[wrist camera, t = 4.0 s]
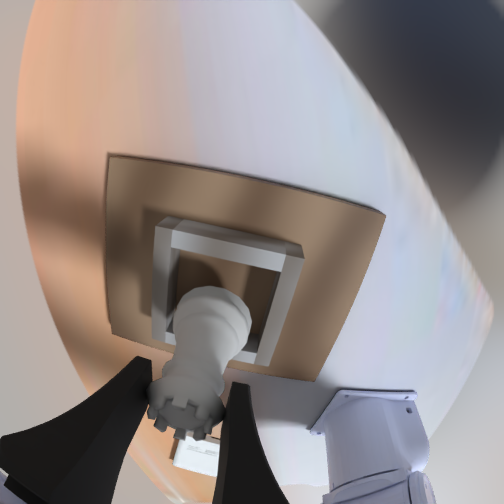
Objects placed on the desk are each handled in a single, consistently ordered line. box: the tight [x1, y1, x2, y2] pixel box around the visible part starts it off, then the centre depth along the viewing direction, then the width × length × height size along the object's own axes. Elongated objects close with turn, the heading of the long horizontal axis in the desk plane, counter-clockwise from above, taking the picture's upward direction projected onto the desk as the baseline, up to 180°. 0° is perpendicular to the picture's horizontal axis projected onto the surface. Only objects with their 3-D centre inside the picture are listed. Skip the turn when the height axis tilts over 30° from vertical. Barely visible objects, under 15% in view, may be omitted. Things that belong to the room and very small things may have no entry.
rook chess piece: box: [146, 286, 252, 441], centre depth 12 cm, size 4×4×8 cm
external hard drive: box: [172, 433, 220, 477], centre depth 29 cm, size 2×8×12 cm
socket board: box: [106, 156, 386, 382], centre depth 17 cm, size 17×14×3 cm
